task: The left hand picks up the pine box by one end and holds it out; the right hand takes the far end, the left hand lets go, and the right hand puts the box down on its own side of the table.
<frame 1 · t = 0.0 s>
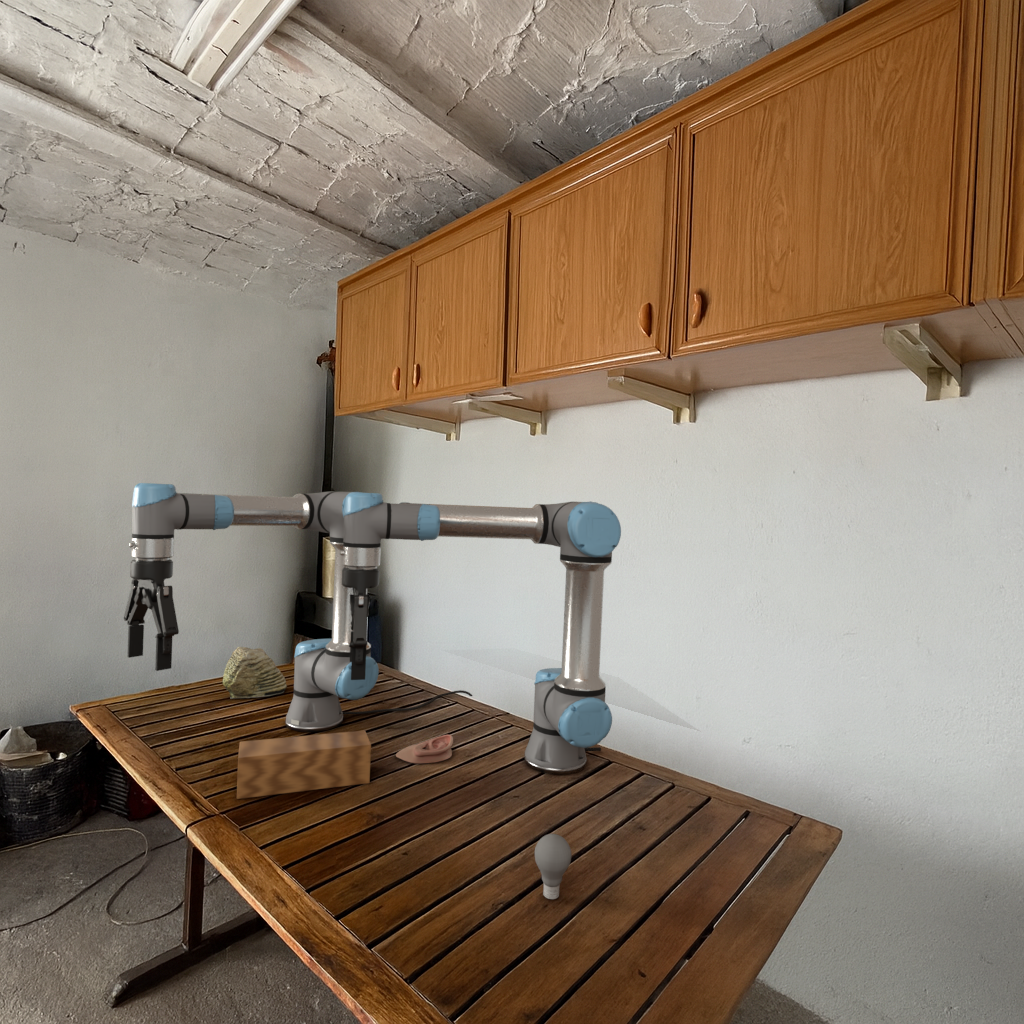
left hand: (148, 662, 129), 28 cm above the table, tool pointing down, fingers open, 13 cm apart
right hand: (357, 670, 130), 28 cm above the table, tool pointing down, fingers open, 13 cm apart
box: (304, 781, 140), on the table
fossil: (254, 694, 198), on the table
light bulb: (550, 898, 103), on the table
anatomical model: (424, 755, 157), on the table
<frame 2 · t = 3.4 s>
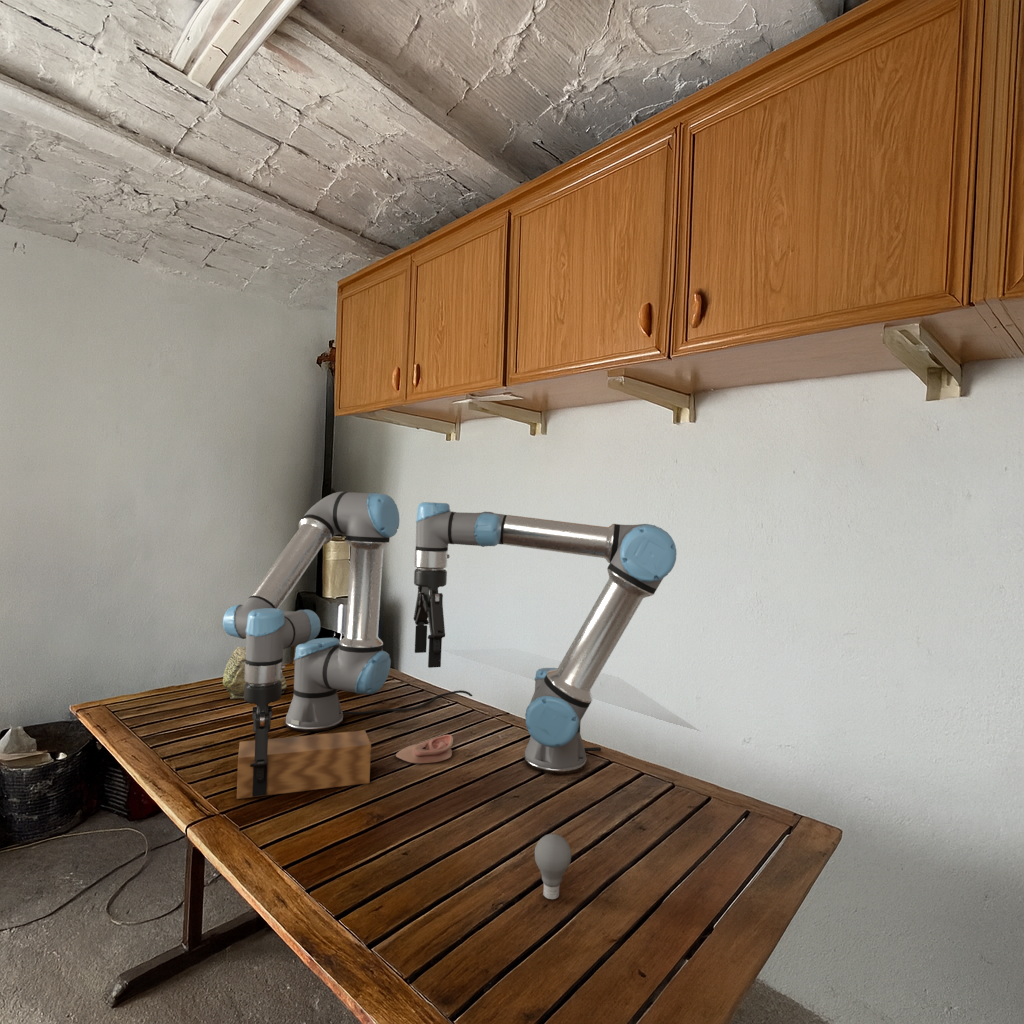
left hand: (259, 784, 137), 0 cm above the table, tool pointing down, fingers closed on box, 9 cm apart
right hand: (427, 659, 148), 26 cm above the table, tool pointing down, fingers open, 13 cm apart
box: (304, 781, 140), on the table, touching left hand
everything else where it was.
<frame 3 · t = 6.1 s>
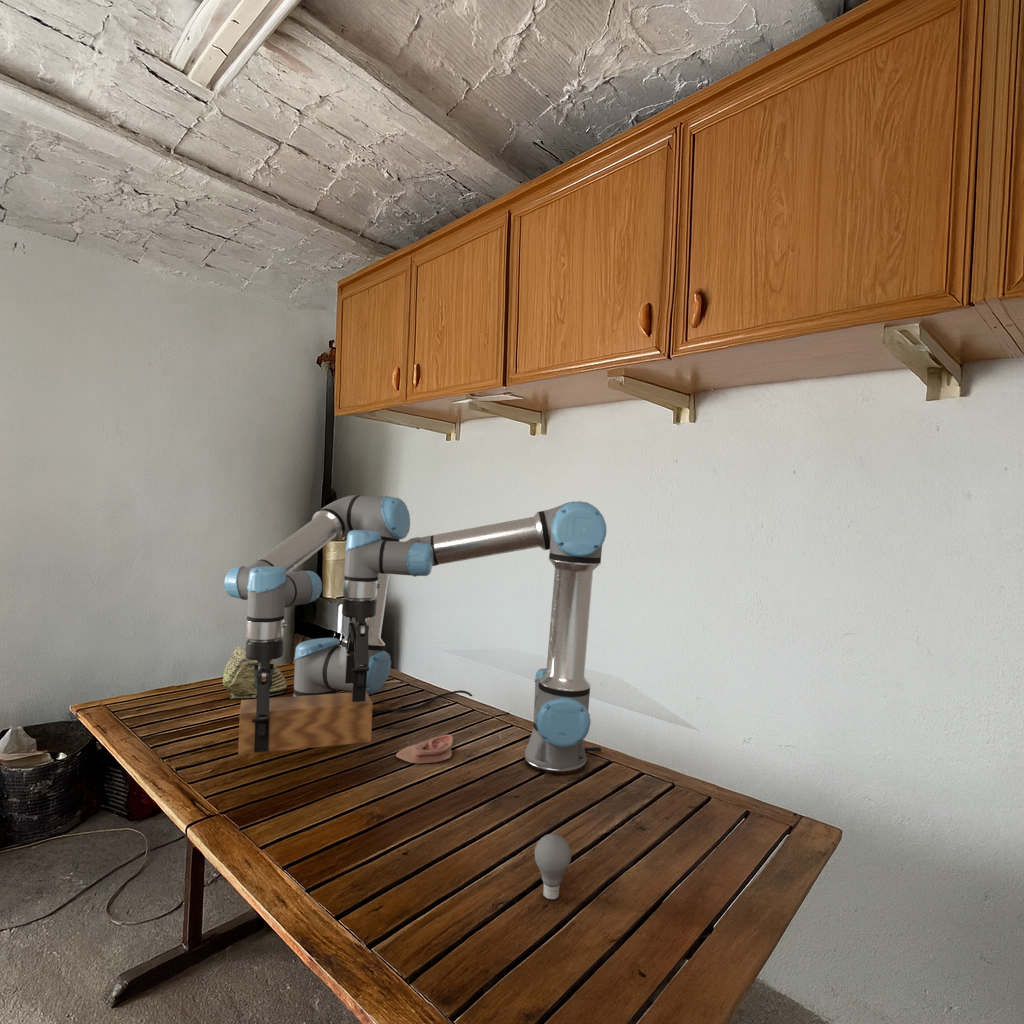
left hand: (261, 742, 137), 10 cm above the table, tool pointing down, fingers closed on box, 9 cm apart
right hand: (354, 691, 144), 19 cm above the table, tool pointing down, fingers open, 13 cm apart
box: (305, 740, 140), point 9 cm above the table, touching left hand
everything else where it was.
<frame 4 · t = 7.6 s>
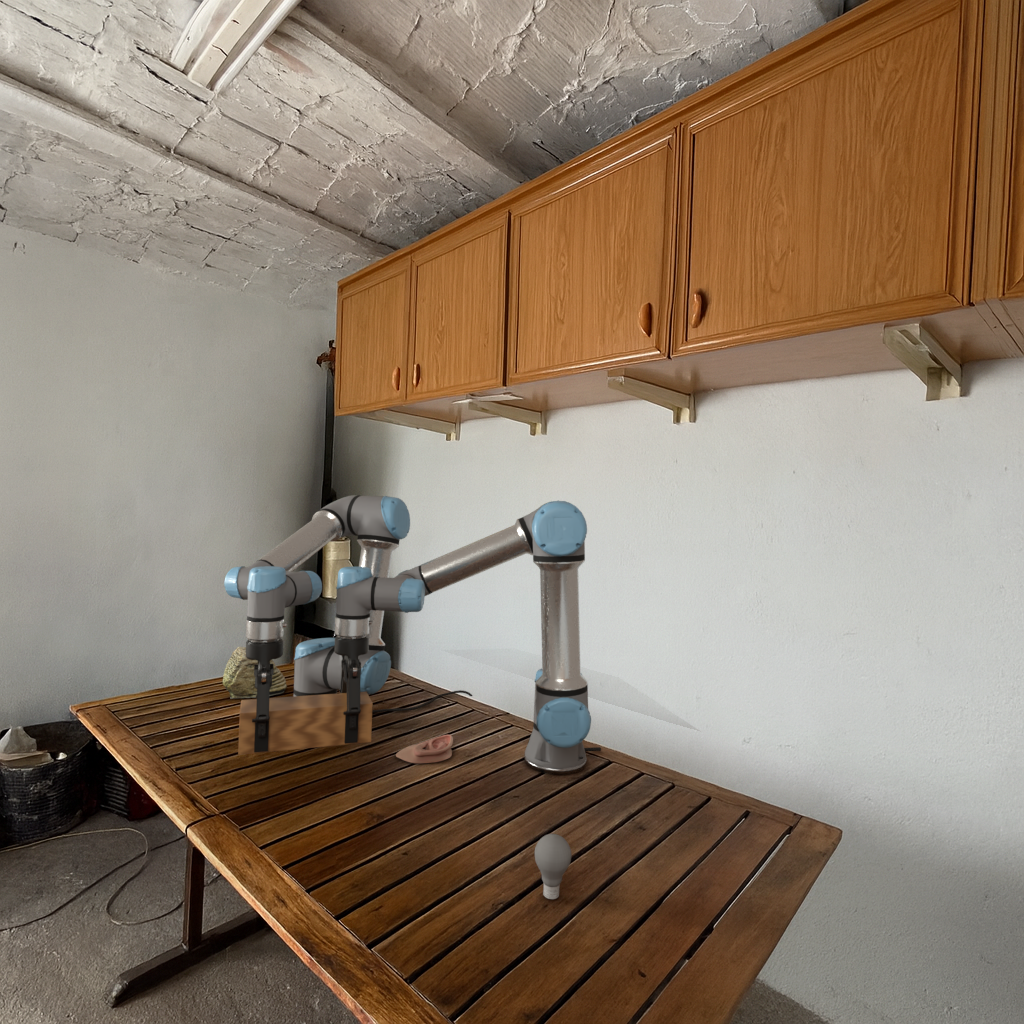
left hand: (261, 742, 137), 10 cm above the table, tool pointing down, fingers closed on box, 9 cm apart
right hand: (348, 734, 143), 10 cm above the table, tool pointing down, fingers closed on box, 9 cm apart
box: (305, 740, 140), point 9 cm above the table, touching left hand, right hand
everything else where it was.
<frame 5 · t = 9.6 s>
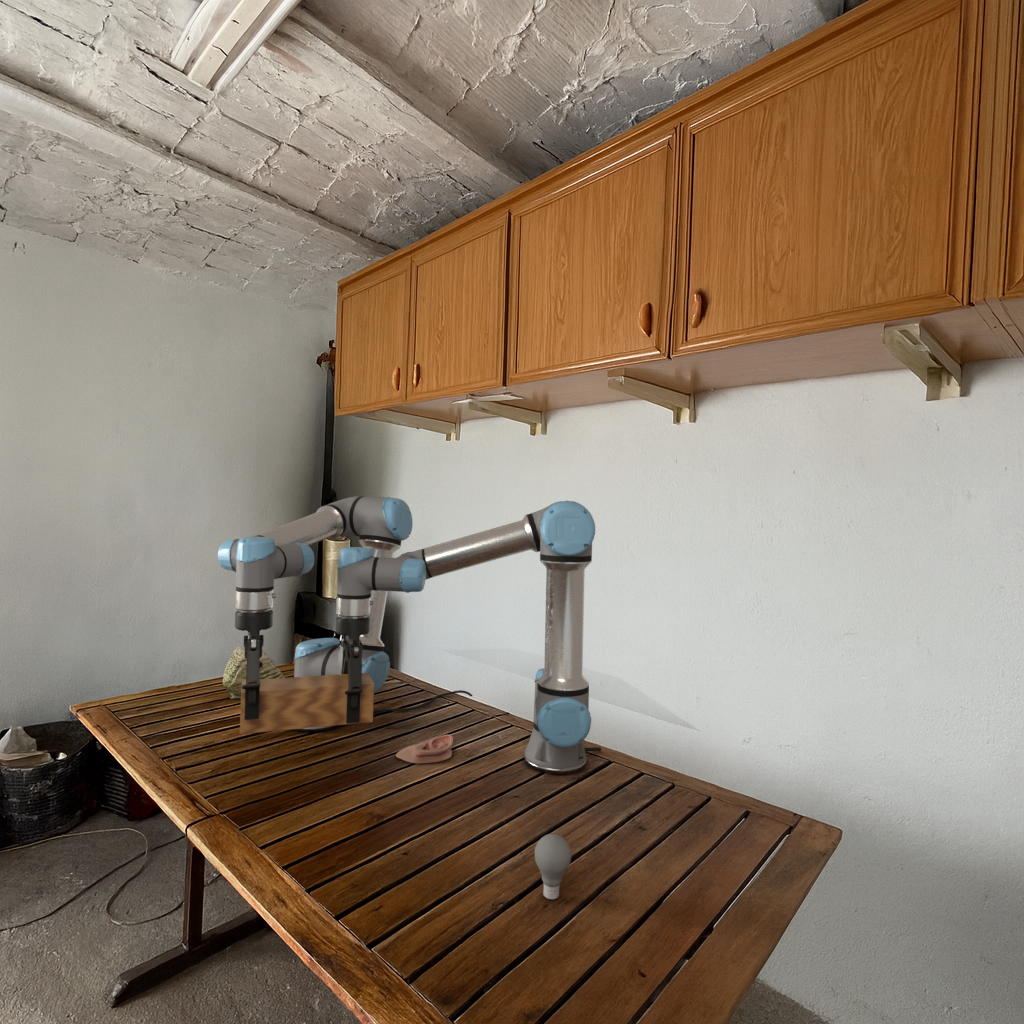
left hand: (252, 708, 136), 17 cm above the table, tool pointing down, fingers open, 13 cm apart
right hand: (350, 714, 143), 14 cm above the table, tool pointing down, fingers closed on box, 9 cm apart
box: (307, 720, 140), point 14 cm above the table, touching right hand
everything else where it was.
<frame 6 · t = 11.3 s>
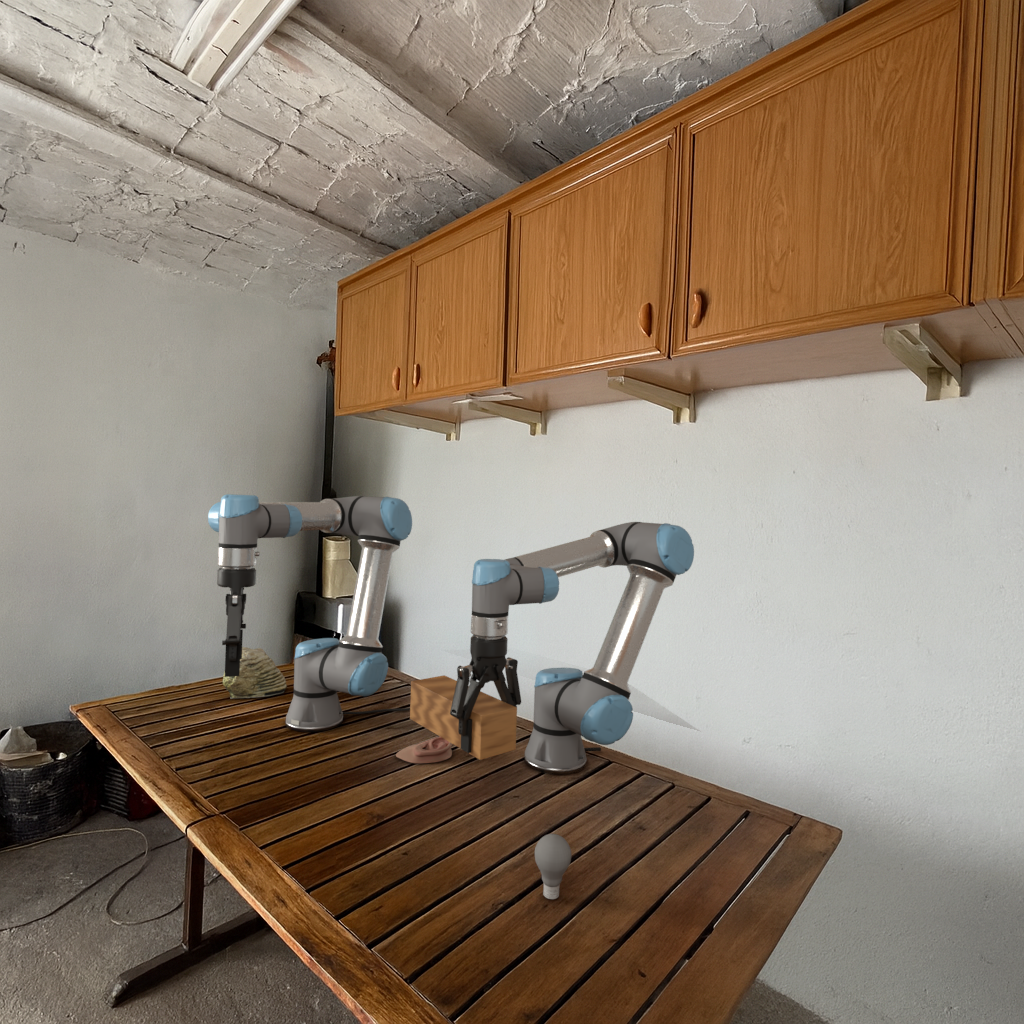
left hand: (233, 667, 134), 26 cm above the table, tool pointing down, fingers open, 13 cm apart
right hand: (485, 745, 129), 14 cm above the table, tool pointing down, fingers closed on box, 9 cm apart
box: (459, 733, 137), point 14 cm above the table, touching right hand
everything else where it was.
when the right hand's fingers open (1 cm above the table, at t = 15.3 s): box stays where it is, on the table.
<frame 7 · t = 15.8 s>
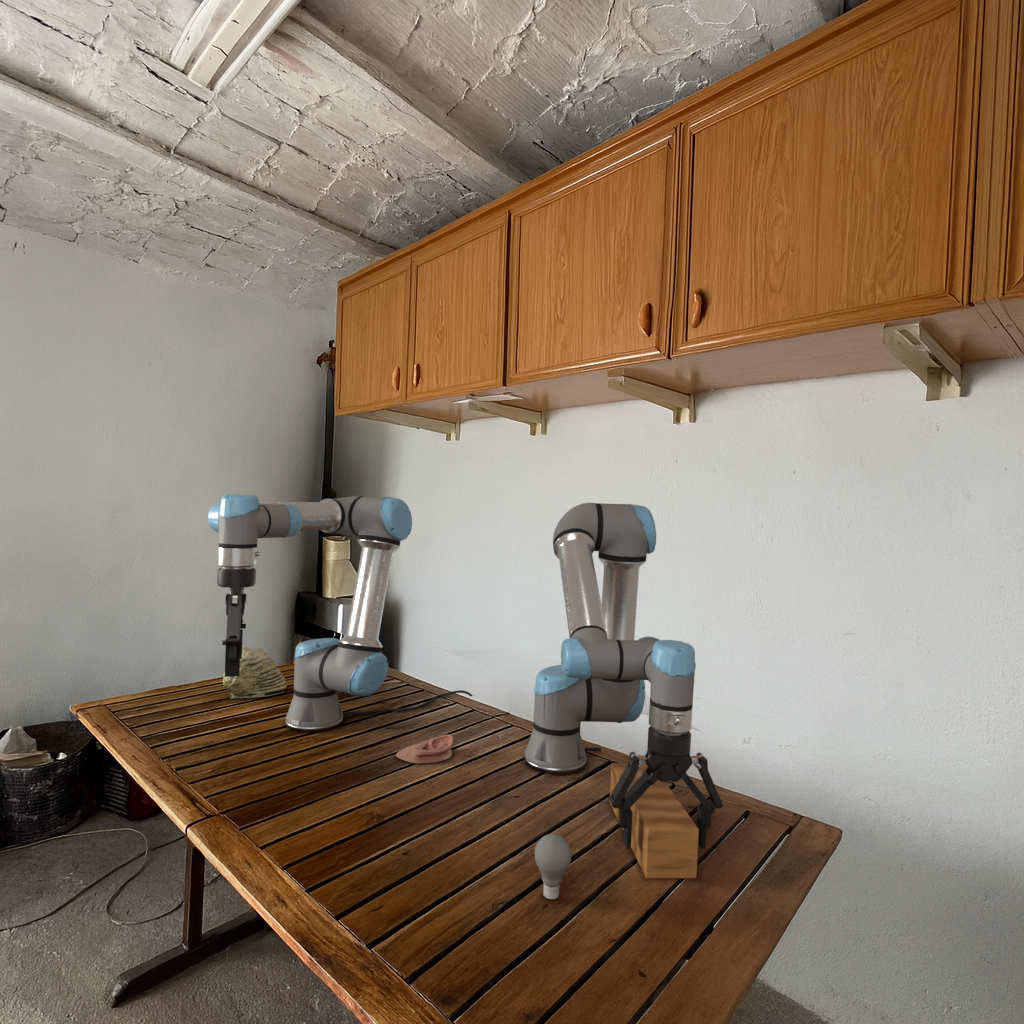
left hand: (233, 667, 134), 26 cm above the table, tool pointing down, fingers open, 13 cm apart
right hand: (663, 844, 115), 3 cm above the table, tool pointing down, fingers open, 13 cm apart
box: (648, 836, 123), on the table
everything else where it was.
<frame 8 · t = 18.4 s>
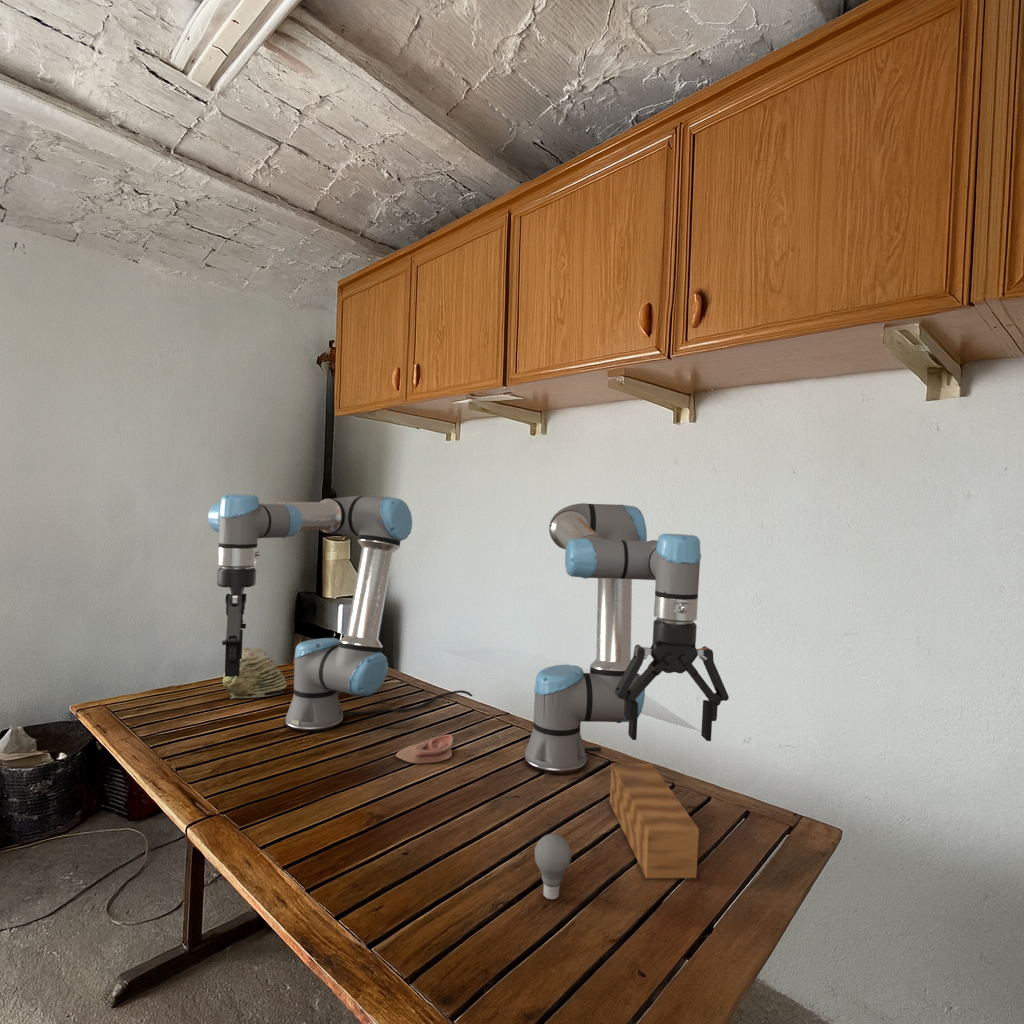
left hand: (233, 667, 134), 26 cm above the table, tool pointing down, fingers open, 13 cm apart
right hand: (669, 737, 114), 23 cm above the table, tool pointing down, fingers open, 13 cm apart
nothing on the table moved.
at the end: box inside the target area (9.2 cm from its centre), on the table; the left hand is holding nothing; the right hand is holding nothing; box at rest at the end (0.0 cm/s) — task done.
